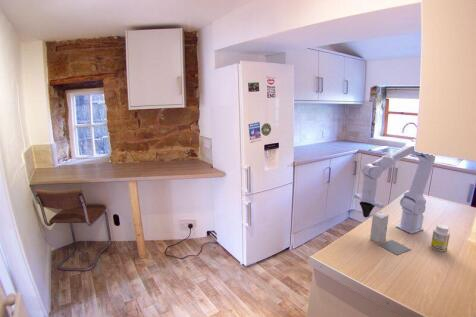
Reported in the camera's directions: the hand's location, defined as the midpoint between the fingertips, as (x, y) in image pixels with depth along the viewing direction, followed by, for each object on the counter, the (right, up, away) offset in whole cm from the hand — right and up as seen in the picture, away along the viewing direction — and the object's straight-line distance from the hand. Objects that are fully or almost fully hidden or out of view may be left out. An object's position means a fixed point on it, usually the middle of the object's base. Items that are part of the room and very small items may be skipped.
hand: (366, 216), depth 126 cm
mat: (+7, -11, -11) cm, 17 cm away
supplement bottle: (+25, -11, -12) cm, 30 cm away
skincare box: (+3, -9, -4) cm, 11 cm away
